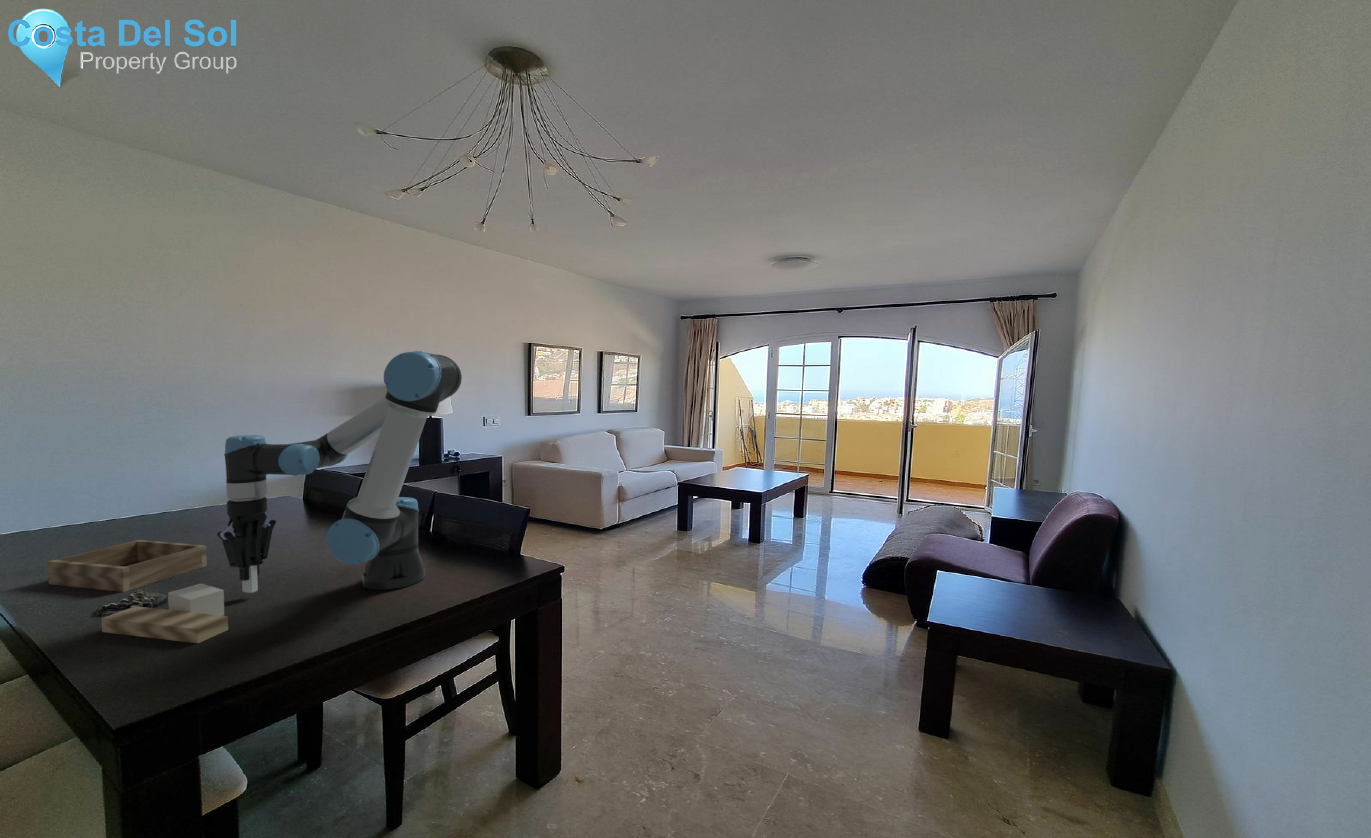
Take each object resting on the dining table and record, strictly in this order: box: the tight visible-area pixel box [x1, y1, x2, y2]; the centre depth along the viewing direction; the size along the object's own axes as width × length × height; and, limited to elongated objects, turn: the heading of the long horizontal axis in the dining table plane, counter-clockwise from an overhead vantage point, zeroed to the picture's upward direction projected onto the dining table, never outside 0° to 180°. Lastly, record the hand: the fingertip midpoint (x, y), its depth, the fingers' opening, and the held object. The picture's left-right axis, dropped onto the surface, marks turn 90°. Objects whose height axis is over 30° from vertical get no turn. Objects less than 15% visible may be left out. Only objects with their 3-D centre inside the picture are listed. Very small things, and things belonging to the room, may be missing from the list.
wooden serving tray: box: [47, 539, 208, 593], centre depth 139 cm, size 23×19×6 cm
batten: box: [100, 606, 229, 644], centre depth 109 cm, size 24×6×3 cm, turn 82°
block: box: [167, 583, 225, 616], centre depth 116 cm, size 9×6×6 cm, turn 68°
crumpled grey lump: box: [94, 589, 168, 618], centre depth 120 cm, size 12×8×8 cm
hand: (250, 591), depth 127 cm, fingers closed
